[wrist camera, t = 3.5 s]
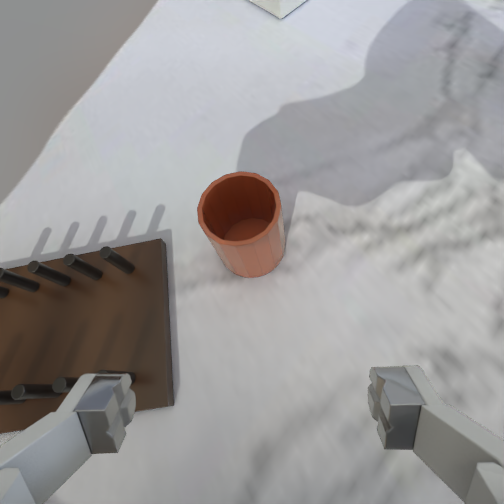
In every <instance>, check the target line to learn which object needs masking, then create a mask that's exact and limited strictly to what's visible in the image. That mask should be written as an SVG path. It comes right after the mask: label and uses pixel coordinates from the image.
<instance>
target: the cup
mask: <svg viewBox="0 0 504 504" xmlns="http://www.w3.org/2000/svg"><path fill="white" fill-rule="evenodd" d="M197 212H198V222H199V224H200V226H201V228H202V229H203V231H204V232H205V234H206V236H207V237H208V239H209V240H210V242H211V244H212V245H213V247H214V248H215V250H216V252H217V253H218V255H219V256H220V258H221V260H222V261H223V263H224V264H225V266H226V267H227V268H228V269H229V270H230V271H231V272H233V273H234V274H236V275H239V276H242V277H247V278H254V277H260V276H263V275H265V274H267V273H269V272H271V271H272V270H273V269H274V268H276V267H277V265H278V264H279V263H280V261H281V259H282V257H283V255H284V250H285V236H284V227H283V217H282V208H281V202H280V197H279V193H278V191H277V190H276V188H275V187H274V186H273V184H272V183H271V182H270V181H269V180H268V179H266V178H264V177H262V176H260V175H258V174H256V173H250V172H242V171H241V172H236V173H231V174H226V175H224V176H222V177H221V178H219V179H217V180H215V181H214V182H212V183H211V184H210V185H209V187H208V188H207V189H206V190H205V191H204V192H203V194H202V196H201V199H200V202H199V204H198V207H197Z"/></svg>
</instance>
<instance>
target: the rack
mask: <svg viewBox="0 0 504 504" xmlns="http://www.w3.org/2000/svg"><path fill="white" fill-rule="evenodd" d="M85 373H91V374H99V373H127V374H130V378H131V381H132V383H131V385H130V387H129V388H130V389H131V390H133V391H134V392H135V397H136V408H135V412H137V411H143V410H149V409H155V408H162V407H168V406H173V405H174V400H173V380H172V360H171V340H170V320H169V300H168V280H167V260H166V243H165V242H164V241H163V240H162V239H156V240H151V241H146V242H141V243H136V244H131V245H126V246H121V247H116V248H110V247H103V248H102V249H101V250H100V251H96V252H91V253H86V254H80V255H73V254H68V255H66V256H65V257H64V258H60V259H55V260H50V261H45V262H38V261H32V262H30V263H29V264H28V265H25V266H20V267H15V268H10V269H3V268H0V434H1V433H7V432H13V431H19V430H25V429H27V428H28V427H30V426H31V425H33V424H34V423H36V422H37V421H39V420H40V419H42V418H43V417H45V416H46V415H48V414H49V413H51V412H56V411H57V409H58V408H59V406H60V405H61V403H62V402H63V401H64V399H65V398H66V396H67V395H68V393H69V392H70V391H71V389H72V388H73V386H74V385H75V383H76V382H77V381H78V379H79V378H80V376H82V375H83V374H85Z"/></svg>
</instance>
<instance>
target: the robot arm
mask: <svg viewBox="0 0 504 504" xmlns="http://www.w3.org/2000/svg"><path fill="white" fill-rule="evenodd" d="M369 377H370V380H371V382H372V384H371V385H370V386H369V387H368V404H369V408H370V412H371V415H372V417H373V418H374V419H375V420H376V421H377V422H378V426H377V431H378V434H379V436H380V439H381V442H382V444H383V447H384V449H400V450H413V452H414V453H415V454H416V455H417V456H418V457H419V458H420V459H421V460H422V461H423V462H424V463H425V464H426V465H427V466H428V467H429V468H430V469H431V470H432V471H433V472H434V473H435V474H436V475H437V476H438V477H439V478H440V479H441V480H442V481H443V482H444V483H445V484H446V485H447V486H448V487H449V488H450V489H451V490H452V491H453V492H454V493H455V494H456V495H457V496H458V497H459V498H460V499H461V500H462V501H463V502H464V503H465V504H504V440H503V439H502V438H500V437H499V436H497V435H496V434H494V433H492V432H491V431H489V430H488V429H486V428H485V427H483V426H482V425H480V424H479V423H477V422H476V421H474V420H472V419H471V418H469V417H468V416H466V415H465V414H463V413H462V412H460V411H459V410H457V409H456V408H454V407H452V406H451V405H445V404H444V403H443V401H442V399H441V398H440V396H439V395H438V393H437V392H436V390H435V389H434V387H433V385H432V384H431V382H430V381H429V379H428V378H427V376H426V375H425V373H424V371H423V370H422V368H421V367H420V366H418V365H414V366H392V367H371V369H370V374H369ZM131 383H132V381H131V378H130V374H127V373H99V374H91V373H85V374H83V375H82V376H80V378H79V379H78V381H77V382H76V383H75V385H74V386H73V388H72V389H71V391H70V392H69V393H68V395H67V396H66V398H65V399H64V401H63V402H62V403H61V405H60V406H59V408H58V409H57V411H56V412H51V413H49V414H48V415H46V416H45V417H43V418H42V419H40V420H39V421H37V422H36V423H34V424H33V425H31V426H30V427H28V428H27V429H25V430H24V431H22V432H20V433H19V434H17V435H16V436H14V437H13V438H11V439H10V440H8V441H7V442H5V443H4V444H2V445H1V446H0V504H43V503H44V502H45V501H46V500H47V499H48V498H49V497H50V496H51V495H52V494H53V493H54V492H55V491H56V490H57V489H59V488H60V487H61V486H62V485H63V484H64V483H65V482H66V481H67V480H68V479H69V478H70V477H71V476H72V475H73V474H74V473H75V472H76V471H77V470H78V469H79V468H80V467H81V466H82V465H83V464H84V463H85V462H86V461H87V460H88V459H89V458H90V457H91V456H92V455H91V454H99V453H118V452H119V449H120V447H121V445H122V442H123V440H124V438H125V435H126V431H125V428H124V427H126V426H127V425H128V424H129V423H130V422H131V421H132V419H133V416H134V413H135V408H136V397H135V392H134V391H133V390H131V389H130V388H129V387H130V385H131Z"/></svg>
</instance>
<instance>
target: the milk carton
mask: <svg viewBox="0 0 504 504" xmlns="http://www.w3.org/2000/svg"><path fill="white" fill-rule="evenodd" d="M249 1H251V2H252V3H254V4H256V5H257V6H259V7H261V8H263V9H264V10H266V11H268V12H270V13H271V14H273V15H275V16H277V17H278V18H280V19H282V18H283V17H285V16H286V15H287V14H289V13H290V12H291V11H293V10H294V9H295V8H297V7H298V6H300V5H301V4H302V3H304V2H305V1H306V0H249Z"/></svg>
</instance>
